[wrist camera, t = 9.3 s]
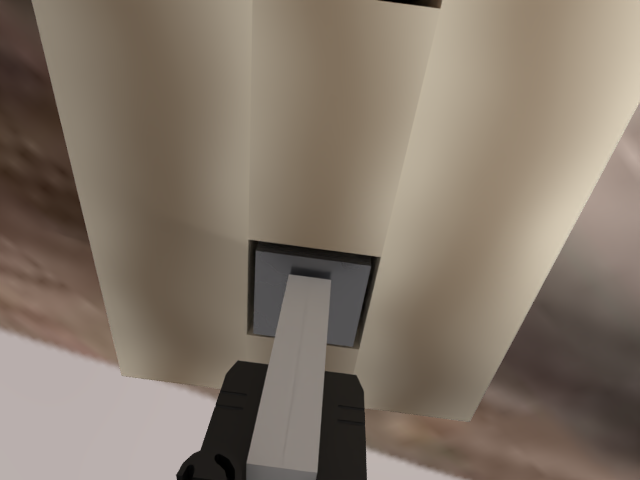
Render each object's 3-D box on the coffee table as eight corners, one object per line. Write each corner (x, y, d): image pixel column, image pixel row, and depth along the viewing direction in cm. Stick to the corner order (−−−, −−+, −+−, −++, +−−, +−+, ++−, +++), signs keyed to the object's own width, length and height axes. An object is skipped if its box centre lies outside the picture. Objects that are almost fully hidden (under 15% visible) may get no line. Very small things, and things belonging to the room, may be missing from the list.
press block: (675, -312, 11) (1049, -667, 5) (440, 315, 24) (469, 421, 18) (111, -387, 11) (-168, -831, 5) (178, 281, 24) (121, 375, 18)
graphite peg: (365, 192, 19) (371, 266, 13) (352, 260, 21) (352, 346, 16) (282, 180, 19) (255, 251, 13) (277, 250, 21) (253, 333, 16)
